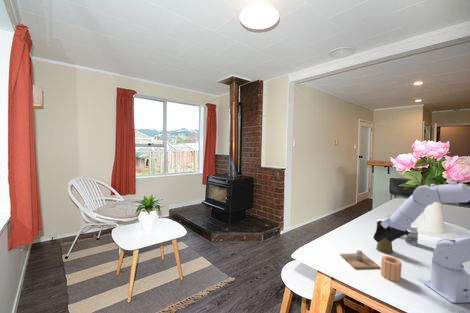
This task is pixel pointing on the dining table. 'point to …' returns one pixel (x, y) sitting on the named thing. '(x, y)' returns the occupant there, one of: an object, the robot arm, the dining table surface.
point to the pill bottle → (412, 236)
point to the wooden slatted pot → (391, 268)
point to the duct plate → (361, 263)
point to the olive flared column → (385, 246)
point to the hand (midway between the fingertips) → (381, 239)
